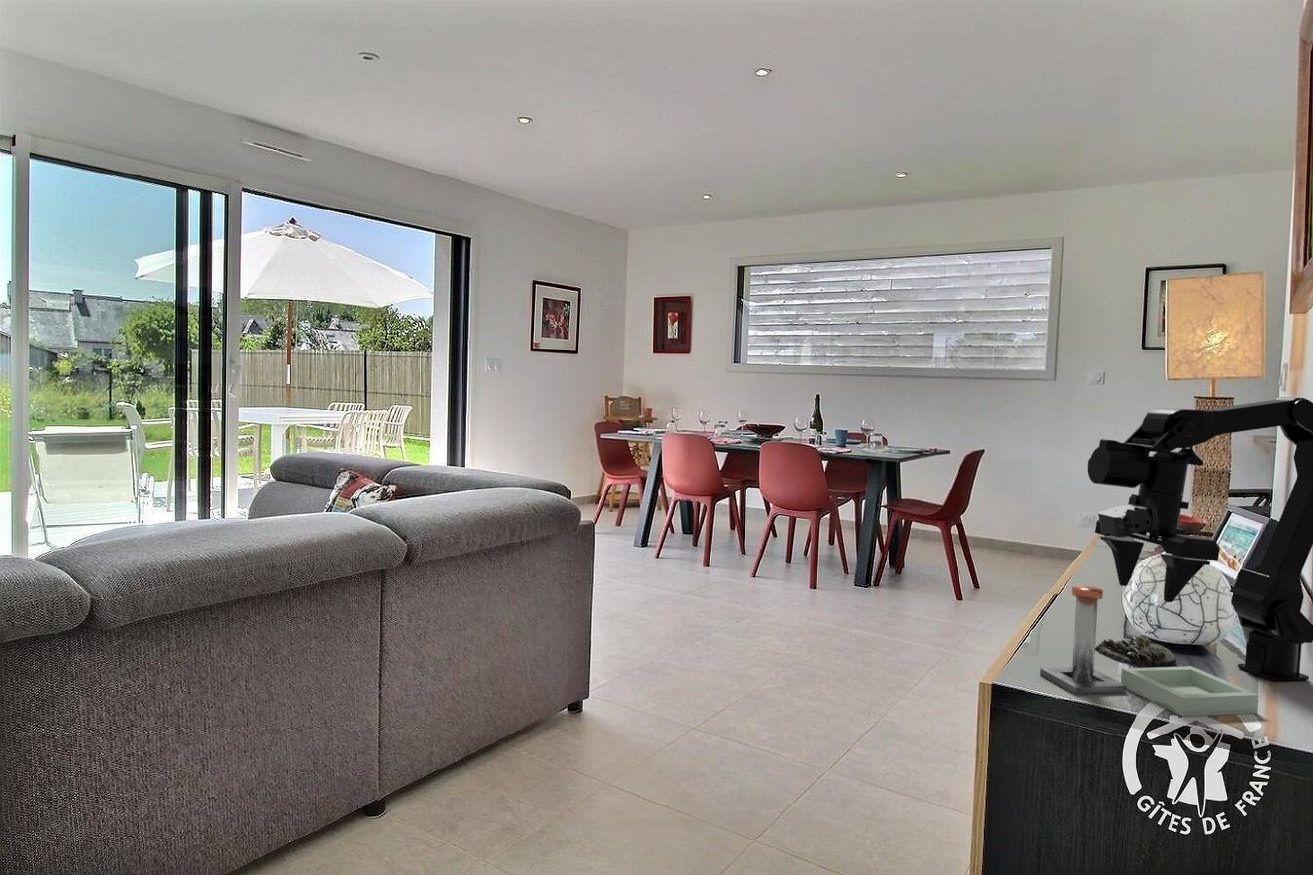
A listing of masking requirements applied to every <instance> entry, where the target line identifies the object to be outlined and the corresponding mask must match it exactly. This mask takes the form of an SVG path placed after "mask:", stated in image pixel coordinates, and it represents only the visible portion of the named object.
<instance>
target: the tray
mask: <svg viewBox="0 0 1313 875" xmlns="http://www.w3.org/2000/svg"><path fill="white" fill-rule="evenodd" d="M1120 676H1121V678H1120V679H1121V680H1120V683H1122V684H1124V685H1126V690H1129V691H1131V692H1133V693H1135V694H1137V695H1138V696H1141V697H1143V698H1145V699H1147V700H1148V701H1151V702H1152V703H1155V704H1157V705H1158V706H1160V707H1163V708H1164V709H1166V710H1168V711H1170V712H1172V713H1174V714H1176V715H1178V716H1180V717H1182V718H1183V717H1205V716H1223V715H1225V716H1226V715H1227V716H1228V715H1246V714H1247V715H1248V714H1249V715H1250V714H1251V715H1252V714H1258V711H1259V696H1260V695H1259V694H1257V693H1255V692H1252V691H1250V690H1248V689H1246V688H1243V687H1241V686H1238V685H1236V684H1234V683H1231V682H1229V681H1227V680H1225V679H1222V678H1220V677H1217V676H1215V675H1213V674H1211V673H1208V672H1205V671H1204V670H1201V669H1199V668H1196V667H1194V666H1191V665H1190V666H1188V665H1186V666H1176V667H1134V668H1133V667H1131V668H1130V667H1129V668H1121V675H1120Z"/></svg>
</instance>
